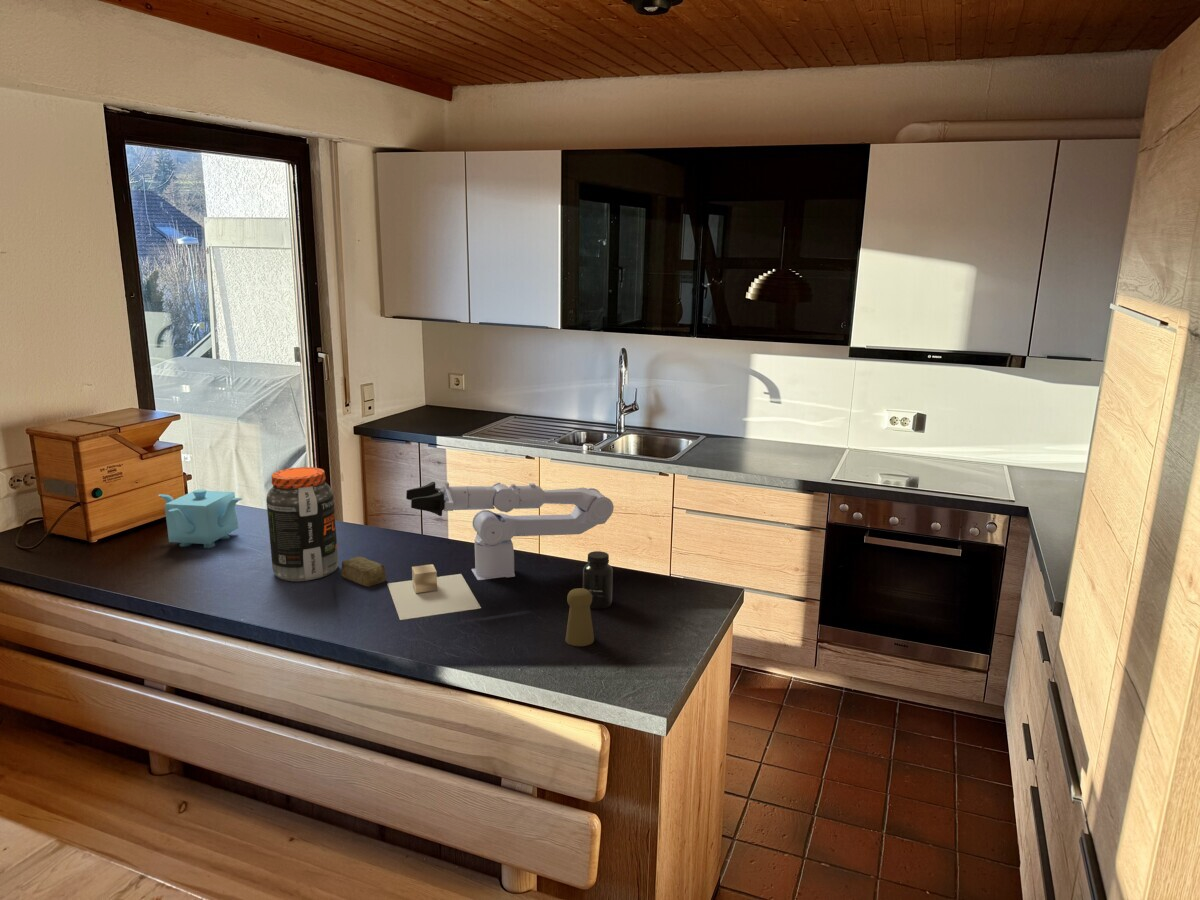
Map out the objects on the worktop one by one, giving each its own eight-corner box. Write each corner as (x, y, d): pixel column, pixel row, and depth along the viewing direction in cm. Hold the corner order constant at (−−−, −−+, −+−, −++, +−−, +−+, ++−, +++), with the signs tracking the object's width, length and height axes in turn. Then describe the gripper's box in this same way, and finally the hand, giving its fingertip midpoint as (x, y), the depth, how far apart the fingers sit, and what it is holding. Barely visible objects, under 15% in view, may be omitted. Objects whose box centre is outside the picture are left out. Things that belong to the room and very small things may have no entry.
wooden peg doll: (564, 633, 179) (564, 585, 176) (593, 632, 179) (593, 584, 177) (566, 646, 173) (565, 596, 170) (595, 645, 173) (595, 595, 171)
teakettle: (230, 526, 247) (225, 478, 244) (249, 543, 232) (244, 492, 229) (159, 539, 236) (153, 489, 232) (174, 558, 221) (167, 504, 218)
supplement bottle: (590, 611, 189) (591, 561, 187) (577, 601, 195) (577, 552, 193) (617, 606, 193) (618, 556, 190) (603, 595, 198) (604, 547, 196)
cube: (433, 583, 204) (432, 564, 202) (437, 591, 199) (436, 571, 198) (412, 586, 202) (411, 566, 201) (416, 594, 197) (415, 574, 196)
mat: (461, 576, 210) (461, 573, 210) (481, 610, 190) (481, 608, 190) (387, 585, 204) (387, 583, 204) (400, 622, 184) (399, 619, 184)
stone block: (368, 590, 201) (367, 570, 200) (340, 579, 208) (338, 560, 207) (388, 583, 206) (387, 564, 205) (359, 572, 213) (358, 553, 212)
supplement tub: (340, 579, 208) (333, 477, 202) (272, 587, 203) (263, 483, 197) (337, 557, 222) (330, 462, 216) (273, 564, 217) (264, 467, 211)
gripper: (460, 474, 210) (405, 475, 205) (473, 489, 197) (414, 490, 192) (459, 502, 212) (404, 503, 207) (471, 518, 198) (413, 520, 193)
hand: (408, 498), depth 199 cm, fingers open, 7 cm apart
